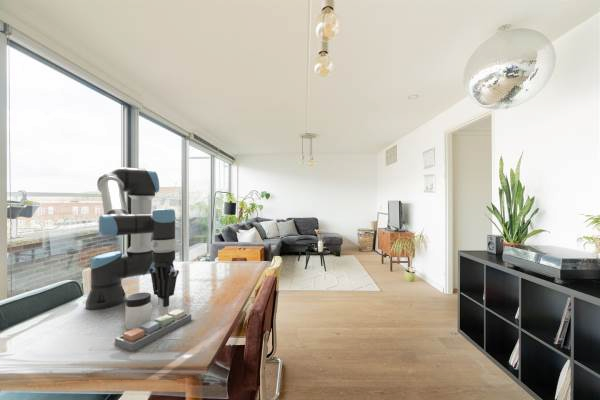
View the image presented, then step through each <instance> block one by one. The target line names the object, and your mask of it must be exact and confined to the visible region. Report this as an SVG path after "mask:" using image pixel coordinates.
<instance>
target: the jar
mask: <svg viewBox="0 0 600 400" xmlns="http://www.w3.org/2000/svg"><path fill="white" fill-rule="evenodd" d="M152 303H153V302H152V294H151V293H150V292H138V293H134V294H130V295H128V296H126V300H125V303H124V304H125V306H124V307H125V311H124V312H125V313H124V316H125V318H124V326H125V328H126V330H132V329H134V328H139V327H140V326H141V325H143V324H145V323H147V322H150V321H153V320H152V319H153V318H152V310H153V309H152V308H153V307H152V305H153V304H152Z"/></svg>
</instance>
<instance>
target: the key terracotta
mask: <svg viewBox="0 0 600 400" xmlns="http://www.w3.org/2000/svg"><path fill="white" fill-rule="evenodd" d="M122 335H123V339H124V340H127V341H130V342H134V341H136V340H138V339H140V338H142V337H144V330H142V329H139V328H134V329H129V330H128V331H126V332H123V333H122Z"/></svg>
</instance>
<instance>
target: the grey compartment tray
mask: <svg viewBox="0 0 600 400" xmlns="http://www.w3.org/2000/svg"><path fill="white" fill-rule="evenodd" d="M167 315H168V314H167ZM153 321H154V322H155V319H154V320H153ZM193 321H194V320H193V319H192V314H191V313H186V312H185V316H183V317H181V318H179V319H177V320H175V319H173V322H171V323H169V324H167V325H165V326H160V325H159V329H158V330H156V331H154V332H152V333H150V334H148V333H145V332H144V337H142V338H140V339H138V340H136V341H134V342H130V341H127V340H124V339H123V334H122V335H119V336H117V337H115V338H114V343H112V345H113V346H117V347H120V348H122V349H124V350H128V351H131V352H133V353H136V352H138V351H140V350H142V349H143V348H145V347H147V346H149V345H151V344H154V342H156V341H159V340H160V339H162V338H164V337H166V336H167V335H170V334H172V333H173V332H174V331H176V330H178V329H180V328H183V327H184V326H185V325H188V324H190V323H191V322H193ZM139 329H140V327H139Z"/></svg>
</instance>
